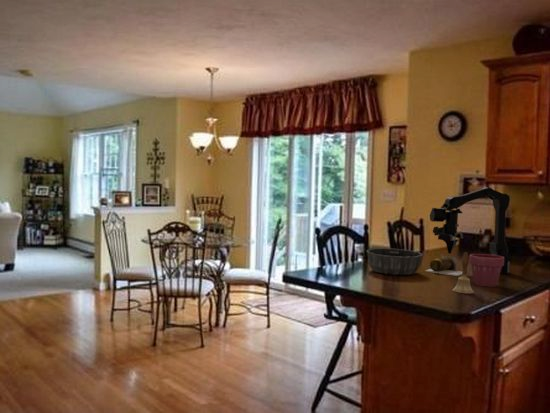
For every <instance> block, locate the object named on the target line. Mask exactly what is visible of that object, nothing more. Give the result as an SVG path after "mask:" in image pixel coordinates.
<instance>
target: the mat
mask: <svg viewBox="0 0 550 413" xmlns="http://www.w3.org/2000/svg"><path fill="white" fill-rule="evenodd" d="M424 272H425V273H432V274H438V273H439V274H440V275H447V276H451V277H452V276H453V277H454V276H455V277H461V276H462V273H463V272H462V271H458V270H456V271H452V270H441V271H434V270H432V269H431V268H428V269H426V270H424ZM439 274H438V275H439Z"/></svg>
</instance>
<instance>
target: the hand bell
mask: <svg viewBox="0 0 550 413" xmlns="http://www.w3.org/2000/svg"><path fill="white" fill-rule="evenodd" d="M469 258H470V256H469V254H468V252H466V251H465V252H463V255H462V258H461V265H462V271H461V272H463V273H462V275H460V276H458V278H457V282H456V285H455V287H454V288H453V289H452V291H453V292H455V293H460V294H466V295H467V294H470V295H471V294H475V291H474V290H473V289H472V286H471V279H470V278H468V276H467V272H468V270H467V269H468V266H469V264H470V263H469Z"/></svg>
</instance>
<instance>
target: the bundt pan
mask: <svg viewBox="0 0 550 413" xmlns="http://www.w3.org/2000/svg"><path fill="white" fill-rule="evenodd" d="M366 253H367V260H368V261H367V262H368V265H369V267H370V268H371V270H372V271H374V273H379V274H385V275H392V276H397V275H398V276H407V275H414V274H416V272H418V270H419V268H420V265H421V260H422V257H423V253H421V252H420V251H419V252H417V251H415V250H411V249H410V250H409V249H399V248H385V247H384V248H369V249H367V250H366Z"/></svg>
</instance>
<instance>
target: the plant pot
mask: <svg viewBox="0 0 550 413" xmlns="http://www.w3.org/2000/svg"><path fill="white" fill-rule="evenodd" d="M468 264H470V266H471V272H472V279H473V284H474V285H477V286H482V287H489V288H490V287H497V286H498V282H499V278H500V275H501V273H500V272H501V268H502V266H504V257H503V256H498V255H492V254H487V253H470V254H469V263H468Z"/></svg>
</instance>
